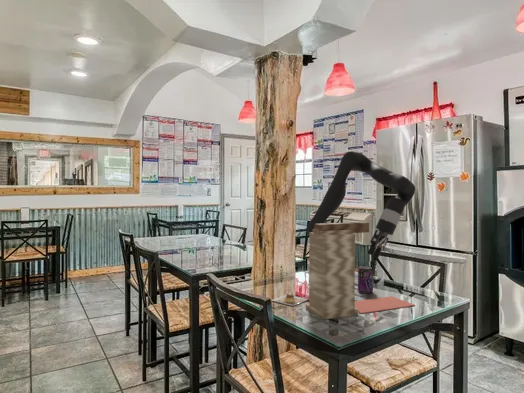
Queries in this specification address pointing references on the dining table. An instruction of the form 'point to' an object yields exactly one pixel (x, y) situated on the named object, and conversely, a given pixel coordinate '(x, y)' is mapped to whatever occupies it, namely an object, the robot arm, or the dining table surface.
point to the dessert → (289, 299)
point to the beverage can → (365, 279)
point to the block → (342, 227)
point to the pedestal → (332, 274)
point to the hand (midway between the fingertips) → (372, 256)
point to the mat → (380, 304)
